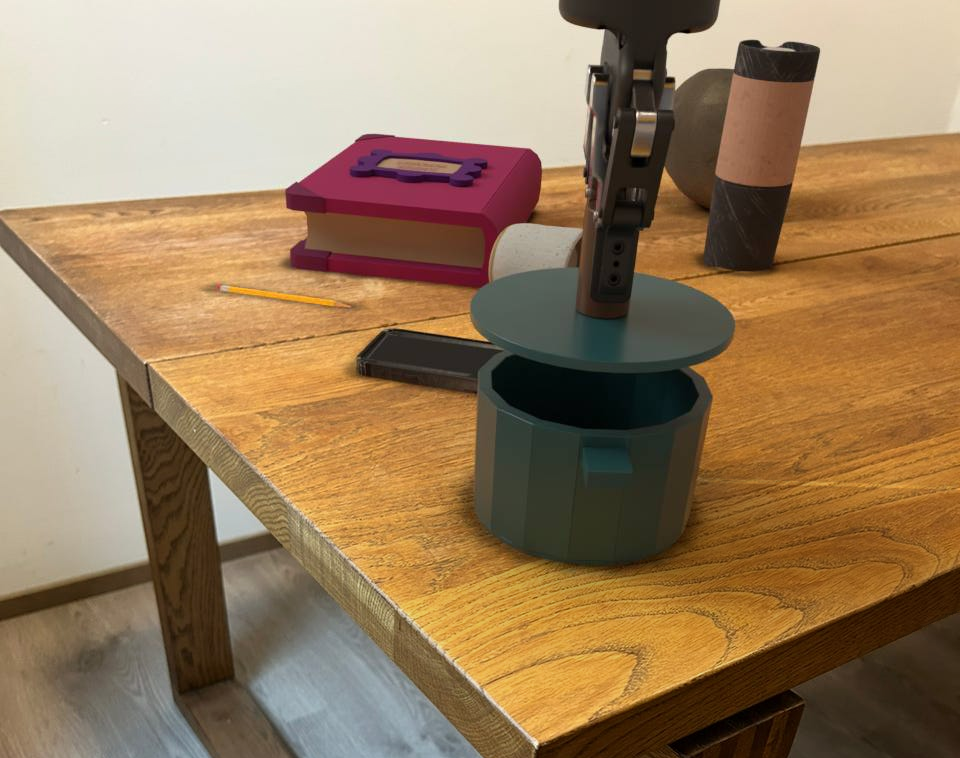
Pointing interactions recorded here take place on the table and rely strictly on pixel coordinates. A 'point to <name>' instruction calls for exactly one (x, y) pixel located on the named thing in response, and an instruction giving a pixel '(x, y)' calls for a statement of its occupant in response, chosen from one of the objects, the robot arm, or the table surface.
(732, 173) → the travel mug
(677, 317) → the lid
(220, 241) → the table surface
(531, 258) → the ceramic mug
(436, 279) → the book
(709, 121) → the brown textured sphere
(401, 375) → the phone
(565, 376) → the pot
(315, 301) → the pencil
